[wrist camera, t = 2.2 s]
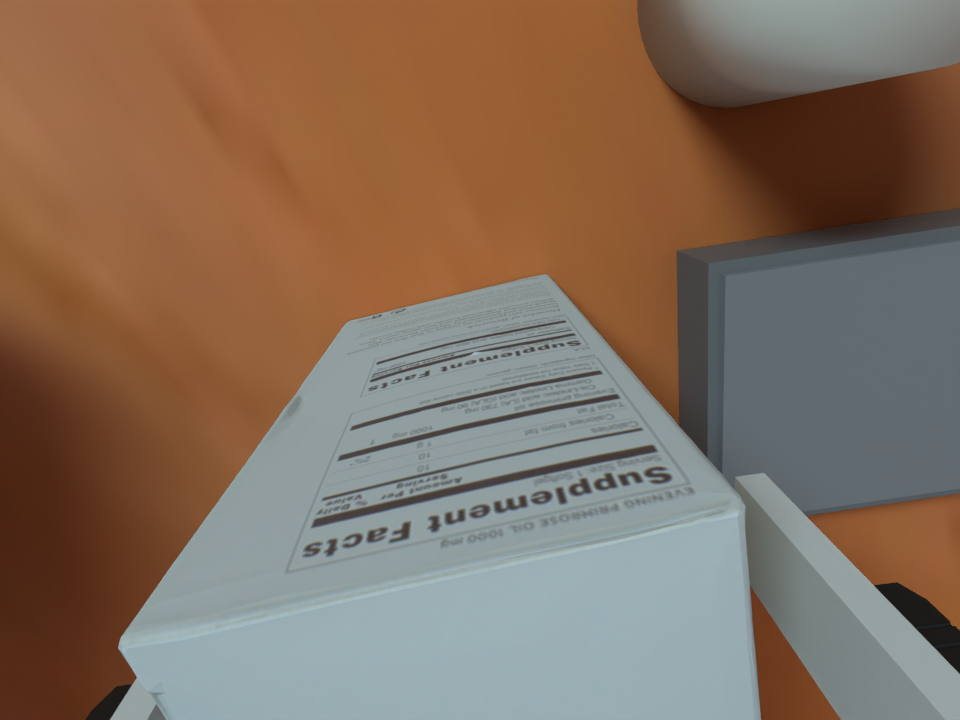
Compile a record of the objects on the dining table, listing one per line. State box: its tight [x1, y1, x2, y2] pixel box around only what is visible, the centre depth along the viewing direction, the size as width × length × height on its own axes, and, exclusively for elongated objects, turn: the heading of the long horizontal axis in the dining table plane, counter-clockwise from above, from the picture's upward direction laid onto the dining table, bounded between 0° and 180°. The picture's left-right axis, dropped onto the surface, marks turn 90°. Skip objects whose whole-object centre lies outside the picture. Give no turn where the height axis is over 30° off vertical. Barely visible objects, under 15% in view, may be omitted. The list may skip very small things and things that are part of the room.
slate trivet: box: [677, 208, 960, 516], centre depth 23 cm, size 13×12×3 cm
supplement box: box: [118, 274, 761, 720], centre depth 17 cm, size 10×9×17 cm
